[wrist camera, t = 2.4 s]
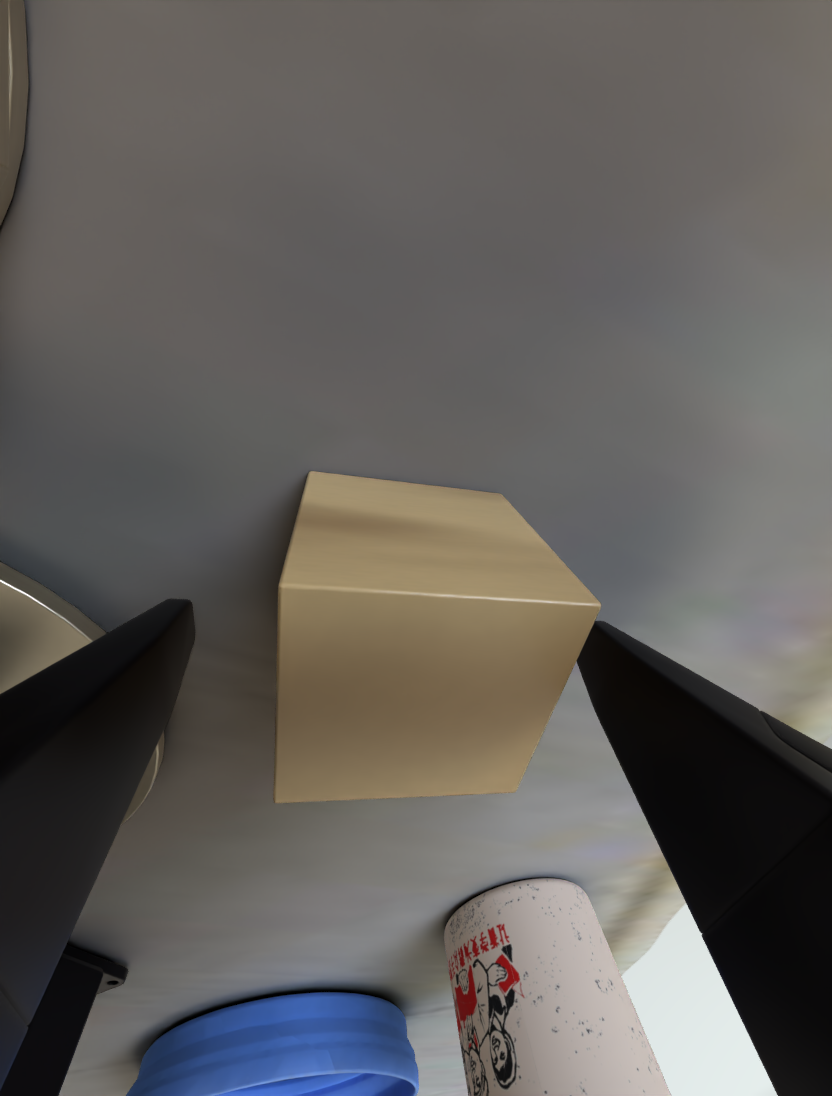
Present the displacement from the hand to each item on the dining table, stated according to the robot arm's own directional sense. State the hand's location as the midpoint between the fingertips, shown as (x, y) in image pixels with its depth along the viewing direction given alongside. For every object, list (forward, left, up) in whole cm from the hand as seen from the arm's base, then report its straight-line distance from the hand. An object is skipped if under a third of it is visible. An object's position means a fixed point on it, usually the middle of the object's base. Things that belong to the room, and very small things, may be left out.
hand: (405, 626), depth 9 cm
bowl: (-22, -31, -3) cm, 38 cm away
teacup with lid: (-4, -26, -3) cm, 26 cm away
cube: (0, 0, -2) cm, 3 cm away
